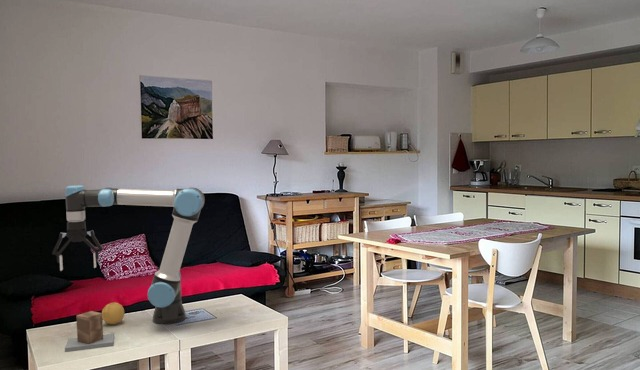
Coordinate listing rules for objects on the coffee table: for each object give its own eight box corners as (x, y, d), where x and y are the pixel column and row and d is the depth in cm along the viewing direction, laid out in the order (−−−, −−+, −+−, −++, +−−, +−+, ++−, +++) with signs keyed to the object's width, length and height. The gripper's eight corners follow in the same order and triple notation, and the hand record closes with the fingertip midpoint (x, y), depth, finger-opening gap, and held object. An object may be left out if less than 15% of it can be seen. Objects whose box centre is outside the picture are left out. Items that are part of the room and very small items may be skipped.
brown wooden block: (92, 336, 226) (91, 311, 226) (103, 339, 223) (102, 313, 222) (77, 341, 220) (76, 315, 220) (88, 344, 217) (87, 317, 216)
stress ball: (123, 319, 255) (122, 298, 255) (125, 325, 247) (125, 303, 246) (101, 322, 251) (100, 301, 251) (102, 328, 242) (101, 306, 242)
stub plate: (114, 336, 230) (113, 318, 230) (113, 345, 219) (112, 326, 219) (68, 342, 224) (67, 323, 224) (65, 351, 213) (64, 332, 213)
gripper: (107, 218, 242) (109, 264, 243) (45, 221, 234) (48, 269, 235) (106, 219, 235) (108, 267, 236) (43, 223, 227) (45, 272, 228)
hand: (78, 268), depth 236 cm, fingers open, 13 cm apart
